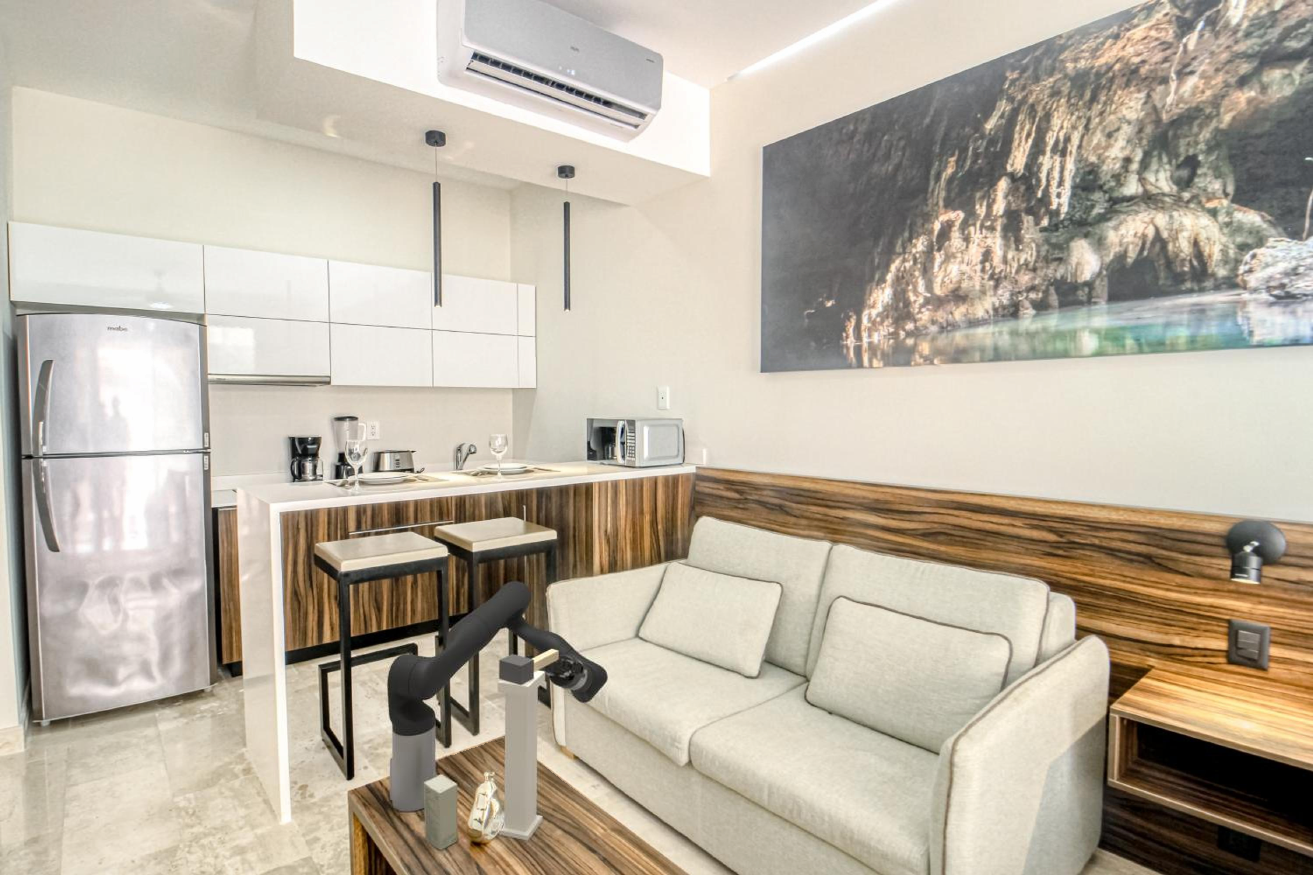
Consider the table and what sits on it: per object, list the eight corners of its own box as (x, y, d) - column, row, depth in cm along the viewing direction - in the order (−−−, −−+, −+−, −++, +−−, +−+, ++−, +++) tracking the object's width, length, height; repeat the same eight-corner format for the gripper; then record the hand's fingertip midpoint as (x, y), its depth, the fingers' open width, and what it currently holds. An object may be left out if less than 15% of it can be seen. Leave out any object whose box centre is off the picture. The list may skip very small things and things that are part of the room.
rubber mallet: (521, 685, 136) (521, 666, 136) (499, 678, 139) (499, 659, 139) (565, 661, 150) (565, 643, 149) (544, 655, 152) (544, 638, 152)
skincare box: (458, 841, 137) (459, 784, 137) (439, 851, 134) (439, 793, 133) (442, 828, 142) (442, 772, 141) (423, 838, 138) (423, 781, 138)
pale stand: (526, 841, 138) (528, 686, 136) (496, 835, 139) (497, 682, 138) (543, 818, 145) (545, 671, 144) (514, 813, 147) (515, 667, 145)
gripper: (545, 653, 169) (520, 641, 155) (598, 660, 165) (576, 648, 151) (538, 684, 166) (512, 674, 152) (592, 692, 162) (570, 682, 148)
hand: (544, 661), depth 152 cm, fingers open, 8 cm apart
